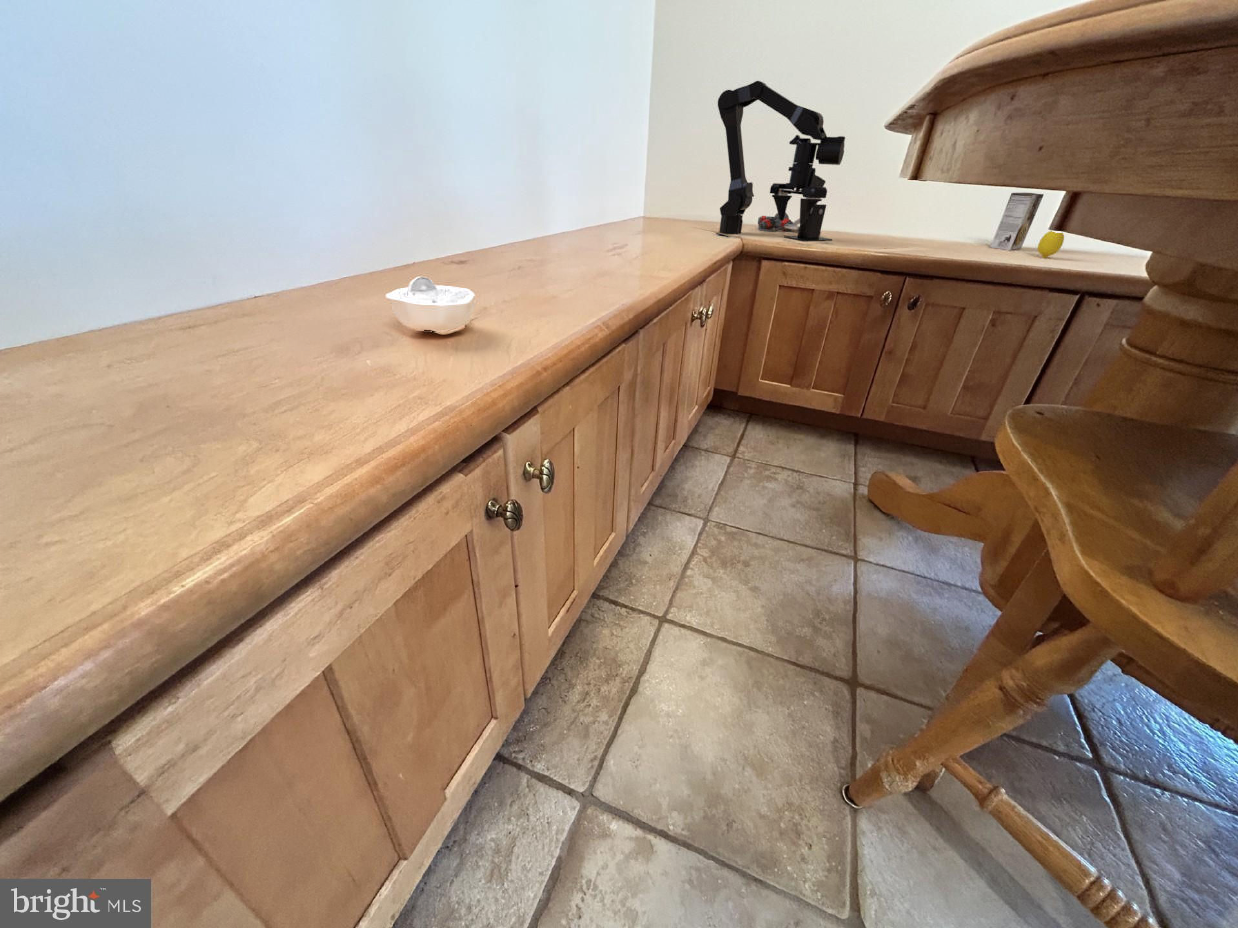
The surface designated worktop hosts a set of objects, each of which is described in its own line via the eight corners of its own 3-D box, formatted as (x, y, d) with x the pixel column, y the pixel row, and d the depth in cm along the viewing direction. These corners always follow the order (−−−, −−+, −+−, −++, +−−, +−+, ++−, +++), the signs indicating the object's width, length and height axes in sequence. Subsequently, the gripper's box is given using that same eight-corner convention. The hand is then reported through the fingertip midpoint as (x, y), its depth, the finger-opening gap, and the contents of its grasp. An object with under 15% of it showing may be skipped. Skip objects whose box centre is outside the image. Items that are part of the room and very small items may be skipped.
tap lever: (796, 232, 154) (794, 225, 152) (785, 230, 157) (783, 223, 156) (823, 212, 154) (822, 205, 153) (812, 210, 158) (811, 203, 156)
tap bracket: (802, 244, 154) (810, 205, 149) (783, 240, 161) (790, 202, 155) (831, 243, 159) (840, 205, 153) (811, 239, 166) (819, 202, 160)
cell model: (428, 351, 60) (418, 293, 57) (379, 329, 67) (368, 276, 63) (496, 334, 67) (491, 281, 63) (446, 315, 74) (439, 267, 70)
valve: (739, 235, 182) (767, 227, 188) (798, 249, 165) (826, 240, 171) (741, 216, 178) (769, 208, 184) (801, 229, 161) (830, 220, 167)
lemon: (1037, 258, 147) (1050, 229, 143) (1029, 255, 152) (1042, 227, 148) (1058, 260, 146) (1073, 230, 142) (1050, 257, 151) (1063, 228, 147)
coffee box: (1000, 246, 170) (1022, 192, 162) (1021, 248, 166) (1045, 193, 157) (988, 247, 165) (1010, 192, 157) (1010, 250, 161) (1034, 193, 152)
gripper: (847, 165, 141) (833, 226, 150) (801, 163, 156) (791, 219, 164) (818, 164, 137) (804, 226, 145) (773, 162, 152) (763, 219, 160)
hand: (791, 222), depth 154 cm, fingers open, 9 cm apart
